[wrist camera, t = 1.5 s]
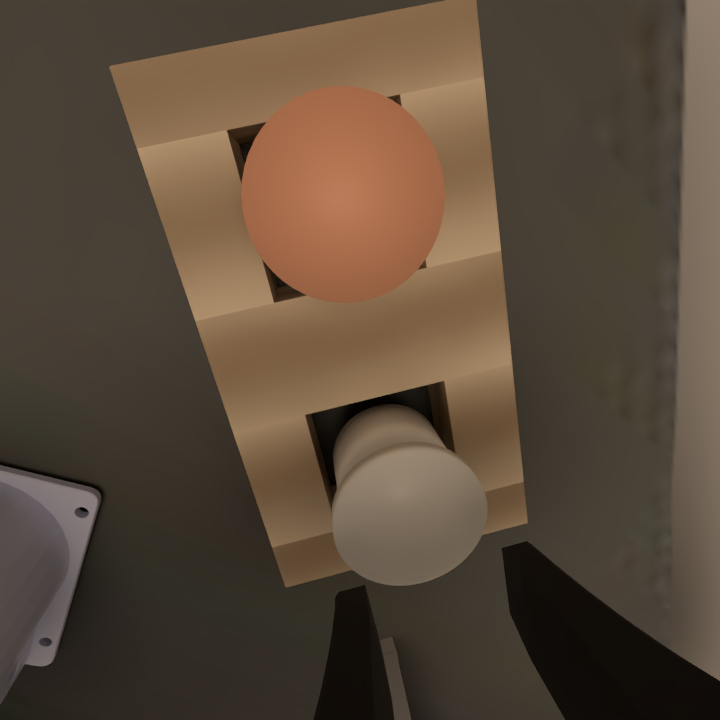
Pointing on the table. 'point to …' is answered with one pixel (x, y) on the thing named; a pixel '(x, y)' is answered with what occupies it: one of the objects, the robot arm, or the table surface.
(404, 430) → the offwhite plunger
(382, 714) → the robot arm
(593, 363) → the table surface
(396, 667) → the light switch
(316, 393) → the wooden holder with holes
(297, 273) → the orange rounded piece
